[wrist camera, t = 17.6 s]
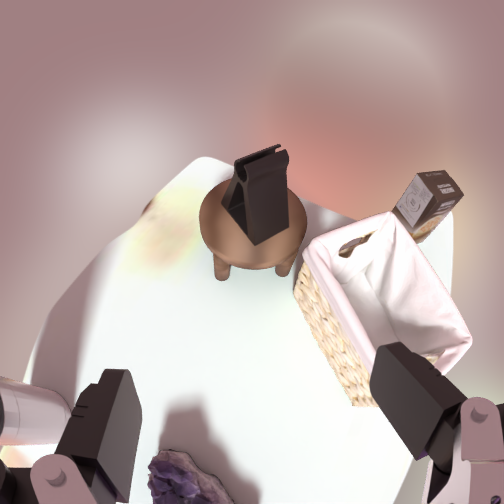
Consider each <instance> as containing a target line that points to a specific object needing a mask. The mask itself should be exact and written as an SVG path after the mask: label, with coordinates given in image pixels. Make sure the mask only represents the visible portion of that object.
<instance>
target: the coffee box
mask: <svg viewBox="0 0 504 504" xmlns="http://www.w3.org/2000/svg"><path fill="white" fill-rule="evenodd" d="M463 196H464V194H463V192H462V191H461V190H460V188H459V187H458V185H457V184H456V183H455V181H454V180H453V179H452V178H451V177H450V176H449V175H448V173H447V172H446V171H445V170H442V171H432V172H423V173H417V174H416V176H415V178H414V179H413V180H412V182H411V184H410V185H409V187H408V188H407V189H406V191H405V192H404V194H403V195H402V197H401V198H400V200H399V201H398V203H397V204H396V206H395V207H394V209H393V210H392V211H391V212H392V213H393V214H394V215H395V216H396V217H397V219H398V220H399V221H400V222H401V224H402V225H403V226H404V227H405V229H406V230H407V231H408V233H409V234H410V236H411V237H412V238H413V240H414V241H415V243H416V244H418V243H421V242H423V241H424V240H425V239H426V238H427V237H428V236H429V235H430V234H431V232H432V231H433V230H434V229H435V228H436V227H437V226H438V225H439V224H440V222H441V221H442V220H443V219H444V218H445V217H446V216H447V214H448V213H449V212H450V211H451V210H452V209H453V207H454V206H455V205H456V204H457V203H458V202H459V200H460V199H461V198H462V197H463Z"/></svg>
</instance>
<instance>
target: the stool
mask: <svg viewBox="0 0 504 504" xmlns="http://www.w3.org/2000/svg"><path fill="white" fill-rule="evenodd" d="M231 180H232V179H229V180H226V181H224V182H222V183H220V184H218V185H217V186H215V187H214V188H213V189H212V190H211V191H210V192H209V193H208V194H207V195H206V197H205V198H204V200H203V202H202V204H201V207H200V212H199V221H200V230H201V234H202V238H203V240H204V242H205V244H206V245H207V247H208V248H209V249H210V251H211V252H212V253H213V257H214V272H215V277H216V279H217V280H219V281H225V280H227V279H228V277H229V271H230V265H233V266H235V267H239V268H243V269H251V270H258V269H267V268H271V267H274V266H276V268H275V272H276V274H277V275H278V276H280V277H285V276H287V275H288V274H289V272H290V269H291V267H292V265H293V262H294V260H295V258H296V255H297V253H298V248H299V247H300V245H301V243H302V240H303V238H304V235H305V232H306V228H307V216H306V212H305V209H304V207H303V205H302V203H301V201H300V200H299V198H298V197H297V196H296V195H295V194H294V193H293V192H292V191H291V190H290V189H288V188H287V192H288V210H289V228H287V229H285V230H284V231H282V232H280V233H278V234H276V235H274V236H273V237H271V238H269V239H267V240H265V241H264V242H262V243H260V244H258V245H256V246H254V245H253V244H252V242H251V241H250V240H249V239H248V237H247V236H246V235H245V233H244V232H243V231H242V230H241V228H240V227H239V226H238V224H237V223H236V222H235V221H234V220H233V218H232V217H231V216H230V214H229V213H228V212H227V211H226V209H225V208H224V207H223V206H222V204H221V201H222V199H223V196H224V194H225V192H226V190H227V188H228V186H229V184H230V182H231Z"/></svg>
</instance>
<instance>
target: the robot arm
mask: <svg viewBox="0 0 504 504" xmlns="http://www.w3.org/2000/svg"><path fill="white" fill-rule="evenodd" d="M369 388H370V393H371V395H372V397H373V399H374V400H375V402H376V403H377V404H378V406H379V407H380V409H381V410H382V412H383V413H384V415H385V416H386V417H387V419H388V420H389V422H390V423H391V425H392V426H393V428H394V429H395V430H396V432H397V433H398V435H399V436H400V438H401V439H402V441H403V442H404V444H405V445H406V446H407V448H408V449H409V451H410V452H411V454H412V455H413V457H414V458H415V460H416V461H417V460H419V459H421V458H423V457H425V456H427V455H429V456H430V457H431V460H430V462H429V464H428V470H427V476H426V482H425V487H424V493H423V497H422V502H421V504H504V403H503V404H499V405H495V404H494V403H493V402H491V401H489V400H488V399H485V398H481V397H474V398H470V399H468V398H467V397H466V396H465V395H464V394H462V392H460V390H459V389H457V388H456V387H455V386H454V385H453V384H452V383H451V382H450V381H449V380H448V379H447V378H446V377H445V376H444V375H442V373H441V372H440V371H439V370H438V369H437V368H435V366H434V365H433V364H432V363H430V362H429V361H428V360H427V359H426V358H425V357H423V356H421V355H419V354H417V353H415V352H411V351H410V350H409V349H408V348H407V347H406V346H405V345H404V344H403V343H402V342H399V341H398V342H394V343H390V344H385V345H381V346H379V347H378V349H377V351H376V355H375V360H374V364H373V369H372V373H371V377H370V381H369ZM75 406H76V407H74V409H73V411H72V413H71V411H70V408H69V406H68V404H67V403H66V401H65V400H64V399H63V398H62V397H61V396H60V395H59V394H58V393H56V392H55V391H52V390H49V389H45V388H40V387H37V386H33V385H29V384H25V383H22V382H18V381H15V380H11V379H8V378H5V377H2V376H0V445H40V444H55V443H59V444H58V446H57V448H56V451H55V453H54V454H50V455H46V456H44V457H42V458H40V459H39V460H37V461H36V462H35V463H34V465H33V467H32V468H8V467H7V466H6V465H5V464H4V463H3V461H2V460H1V459H0V504H116V502H121V503H129V496H130V488H131V482H132V475H133V469H134V463H135V457H136V451H137V445H138V440H139V435H140V429H141V424H142V409H141V405H140V401H139V398H138V395H137V392H136V389H135V386H134V383H133V379H132V376H131V373H130V371H129V370H127V369H105V370H104V371H103V373H102V375H101V378H100V380H99V382H98V384H92V383H91V384H90V385H89V386H88V387H87V388H86V389H85V390H84V391H83V392H81V394H80V396H79V398H78V400H77V402H76V404H75Z"/></svg>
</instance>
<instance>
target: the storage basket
mask: <svg viewBox="0 0 504 504" xmlns="http://www.w3.org/2000/svg"><path fill="white" fill-rule="evenodd" d="M360 237H362V239H361V240H360V243H358V244H356V245H353V246H351V247H349V248H346V249H343V250H341V251H339V250H340V248H341V247H342V245H343V244H344V245H346V244H347V242H349V241H351V240H353V239H355V238H357V239H358V238H360ZM302 256H303V258H304V262H303V264H302V267H301V270H300V271H299V273H298V279H297V280H296V285H295V288H294V291H293V294H294V298H295V299H296V301H297V303H298V305H299V307H300V310H301V311H302V312H303V315H304V317H305V320H306V322H307V323H308V324H309V326H310V328H311V331H312V334H313V336H314V338H315V339H316V341H317V342H318V345H319V347H320V349H321V351H322V352H323V354H324V355H325V357H326V358H327V360H328V362H329V364H330V366H331V367H332V369H333V370H334V372H335V374H336V377H337V379H338V380H339V382H340V383H341V384H342V386H343V387H344V390H345V392H346V394H347V395H348V397H349V398H350V400H351V402H352V406H358V407H379V406H378V404H377V403H376V402H375V400H374V399H373V397H372V395H371V393H370V388H369V381H370V377H371V373H372V369H373V364H374V360H375V355H376V351H377V349H378V347H379V346H381V345H385V344H390V343H394V342H398V341H399V342H402V343H403V344H404V345H405V346H406V347H407V348H408V349H409V350H410V351H411V352H415V353H417V354H419V355H421V356H423V357H425V358H426V359H427V360H428V361H429V362H430V363H432V364H433V365H434V366H435V368H437V369H438V370H439V371H440V372H441V373H442V375H445V374H446V373H447V372H448V371H449V370H450V369H451V368H452V367H453V366H454V365H455V364H456V363H457V362H458V361H459V359H460V358H461V357H462V356H463V355H464V353H465V352H466V351H467V350H468V349H469V347H470V346H471V345H472V336H471V334H470V332H469V330H468V328H467V326H466V324H465V322H464V320H463V318H462V316H461V314H460V312H459V310H458V308H457V307H456V305H455V303H454V301H453V300H452V298H451V296H450V295H449V293H448V292H447V290H446V288H445V287H444V285H443V283H442V282H441V280H440V279H439V277H438V276H437V274H436V273H435V271H434V270H433V268H432V266H431V265H430V263H429V262H428V260H427V259H426V257H425V256H424V254H423V253H422V251H421V250H420V248H419V247H418V246H417V244H416V243H415V241H414V240H413V238H412V237H411V236H410V234H409V233H408V231H407V230H406V229H405V227H404V226H403V225H402V224H401V222H400V221H399V220H398V219H397V217H396V216H395V215H394V214H393V213H392V212H390V211H387V212H384V213H379V214H376V215H373V216H370V217H367V218H364V219H362V220H359V221H356V222H354V223H351V224H348V225H346V226H343V227H340V228H337V229H334V230H332V231H329V232H327V233H324V234H322V235H319V236H317V237H315V238H313V239H312V240H311V242H310V244H309V245H308V246H307V247H306V248H305V249H304V251H303V253H302Z"/></svg>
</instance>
